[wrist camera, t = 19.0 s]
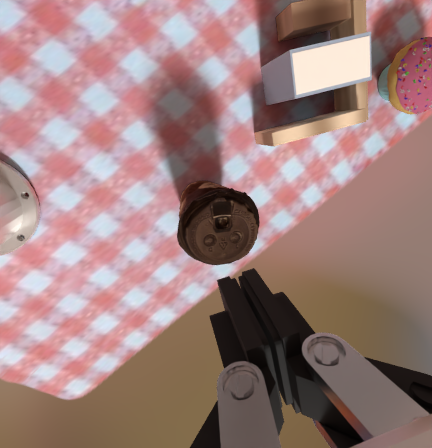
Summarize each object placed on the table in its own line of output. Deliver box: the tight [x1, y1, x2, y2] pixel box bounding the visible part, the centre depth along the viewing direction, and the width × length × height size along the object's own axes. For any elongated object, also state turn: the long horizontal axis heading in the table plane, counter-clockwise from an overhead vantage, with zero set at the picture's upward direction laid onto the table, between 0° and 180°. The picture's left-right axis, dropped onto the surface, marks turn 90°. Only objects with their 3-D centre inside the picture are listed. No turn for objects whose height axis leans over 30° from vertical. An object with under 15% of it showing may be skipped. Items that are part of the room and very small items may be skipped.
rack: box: [254, 0, 368, 146], centre depth 32 cm, size 14×14×6 cm
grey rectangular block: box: [261, 32, 372, 105], centre depth 32 cm, size 9×4×8 cm, turn 103°
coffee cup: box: [177, 181, 259, 265], centre depth 32 cm, size 9×8×13 cm
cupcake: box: [378, 37, 432, 114], centre depth 32 cm, size 9×8×12 cm
